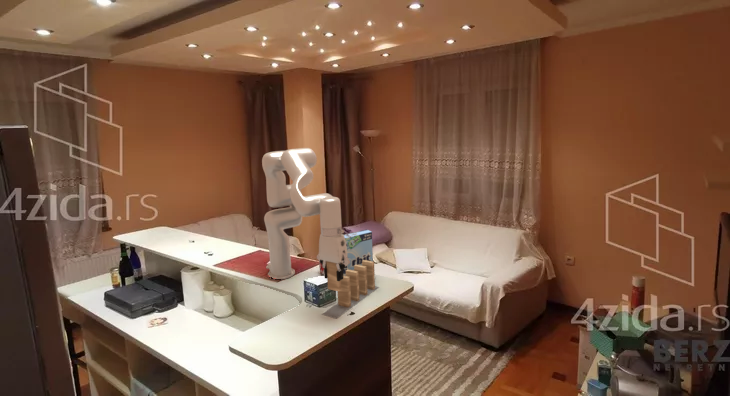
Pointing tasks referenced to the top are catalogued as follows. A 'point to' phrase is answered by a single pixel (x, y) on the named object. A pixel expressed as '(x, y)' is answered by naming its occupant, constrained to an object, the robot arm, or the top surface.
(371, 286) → the wooden domino
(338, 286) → the tile
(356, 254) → the gum box
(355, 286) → the tile
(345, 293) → the tile
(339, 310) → the mat
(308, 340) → the top surface
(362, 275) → the tile
